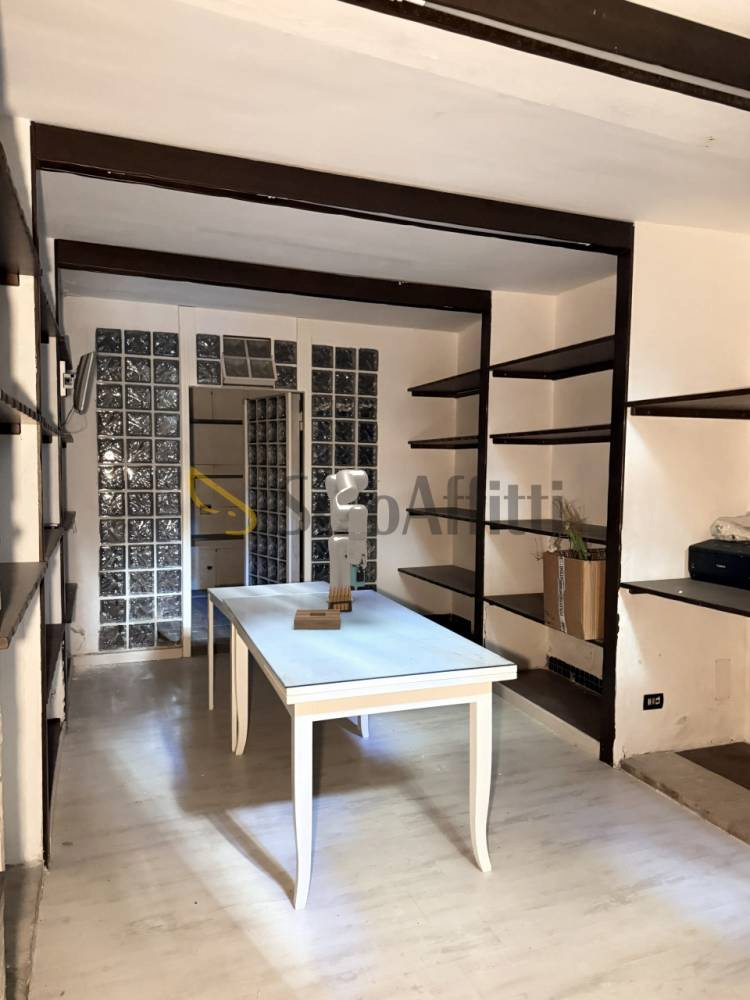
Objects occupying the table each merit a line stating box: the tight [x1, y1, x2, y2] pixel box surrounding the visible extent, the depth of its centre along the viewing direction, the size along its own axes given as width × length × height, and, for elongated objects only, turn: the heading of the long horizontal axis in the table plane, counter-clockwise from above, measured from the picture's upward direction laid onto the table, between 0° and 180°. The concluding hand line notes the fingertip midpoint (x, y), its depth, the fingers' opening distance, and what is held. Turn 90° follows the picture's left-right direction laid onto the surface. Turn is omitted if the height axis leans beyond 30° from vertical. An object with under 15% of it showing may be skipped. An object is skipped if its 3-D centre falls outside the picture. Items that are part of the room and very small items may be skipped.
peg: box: [350, 565, 366, 588], centre depth 277 cm, size 4×4×8 cm
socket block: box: [293, 608, 341, 630], centre depth 273 cm, size 18×18×4 cm
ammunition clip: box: [327, 585, 353, 613], centre depth 295 cm, size 11×2×12 cm, turn 114°
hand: (357, 580), depth 277 cm, fingers closed on peg, 4 cm apart
